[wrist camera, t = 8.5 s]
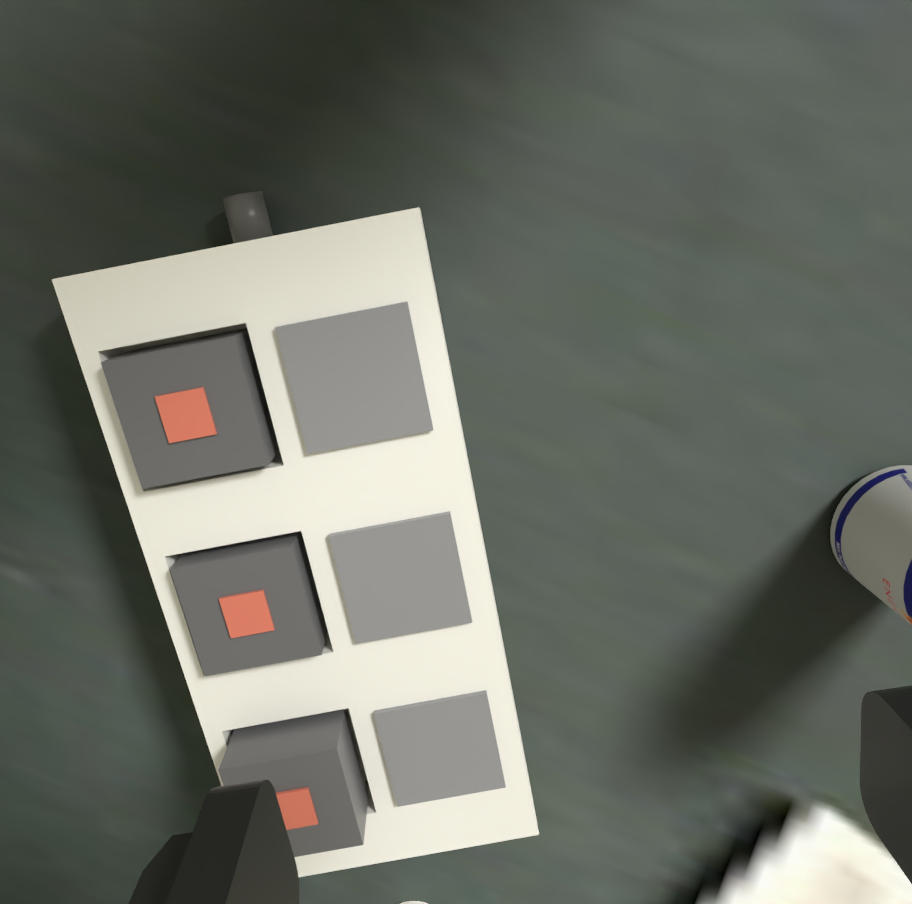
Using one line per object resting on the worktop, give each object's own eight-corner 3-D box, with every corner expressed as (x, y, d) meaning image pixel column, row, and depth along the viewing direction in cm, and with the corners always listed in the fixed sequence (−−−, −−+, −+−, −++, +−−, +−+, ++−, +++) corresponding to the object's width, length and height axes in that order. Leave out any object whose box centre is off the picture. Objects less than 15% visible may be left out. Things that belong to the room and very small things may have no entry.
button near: (129, 350, 26) (98, 363, 24) (250, 327, 26) (233, 336, 24) (165, 467, 28) (140, 490, 25) (282, 445, 28) (268, 466, 25)
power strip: (89, 228, 27) (30, 228, 23) (412, 164, 27) (408, 153, 23) (273, 813, 35) (253, 889, 31) (527, 767, 35) (539, 839, 31)
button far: (234, 728, 30) (217, 772, 27) (344, 708, 30) (336, 751, 27) (263, 817, 31) (249, 867, 28) (368, 799, 31) (362, 847, 28)
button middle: (190, 542, 29) (168, 571, 26) (303, 521, 29) (291, 547, 26) (221, 642, 30) (203, 678, 28) (330, 622, 30) (321, 657, 27)
